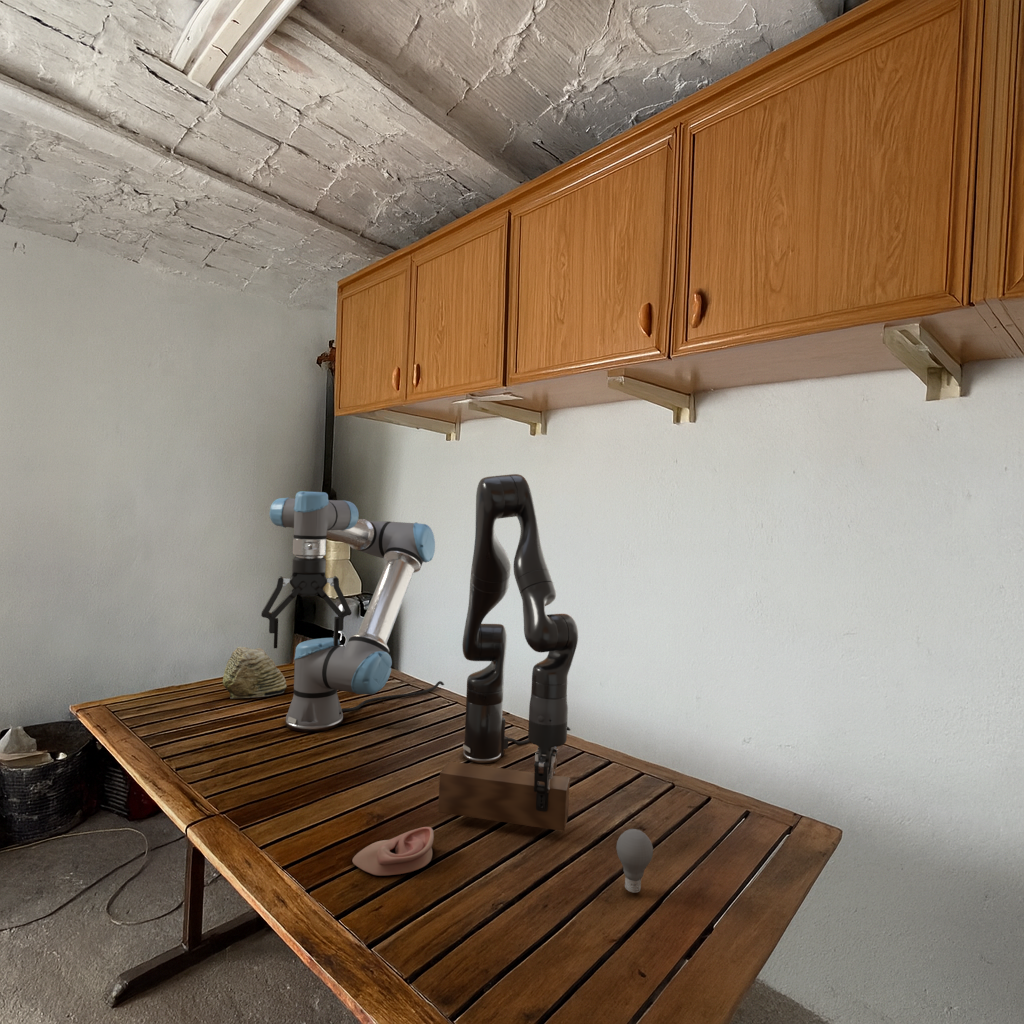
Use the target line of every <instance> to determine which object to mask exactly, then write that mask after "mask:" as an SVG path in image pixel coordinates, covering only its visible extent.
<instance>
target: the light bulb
mask: <svg viewBox="0 0 1024 1024" xmlns="http://www.w3.org/2000/svg"><path fill="white" fill-rule="evenodd" d="M615 849H616V854H617V857H618V859H619V861H620V863H621V865H622V867H623V873H624V874H623V875H624V876H625V878H624V888H625V890H627V891H628V892H630V893H634V894H635V893H639V892H640V891H641V889H642V887H641V886H642V879H643V877H644V875H645V871H646V868H647V867H648V866H649V864H650V863H651V861H652V859H653V855H654V847H653V843H652V841H651V838H649V836H648V835H647V834H646V833H645V832H643V831H642V830H641V829H636V828H629V829H627V830H625V831H623V832H622V833H621V834H620V835H619V837H618V839H617V841H616V847H615Z"/></svg>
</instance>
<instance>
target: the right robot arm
mask: <svg viewBox="0 0 1024 1024" xmlns="http://www.w3.org/2000/svg"><path fill="white" fill-rule="evenodd" d="M475 494H476V495H475V530H474V531H475V533H474V544H473V555H472V561H471V570H470V580H469V595H468V606H467V613H466V619H465V623H464V630H463V635H462V636H463V637H462V644H461V645H462V655H463V657H464V659H466V660H467V661H470V662H490V663H489V664H488V665H487V666H486V667H484V668H482V669H480V670H477V671H475V672H472V673H470V674H469V675H468V676H467V677H466V678H467V679H466V698H465V716H464V717H465V718H464V719H465V721H464V741H463V742H464V743H463V744H462V749H463V753H462V754H463V755H462V756H463V758H464V759H465V760H466V761H469V762H471V763H476V764H490V763H494V762H498V761H499V760H500V759H501V757H504V756H505V755H504V754H505V750H506V749H509V742H512V743H513V744H514V745H516V746H517V745H518V746H521V745H527V744H529V743H531V744H533V745H535V746H537V749H536V750H537V751H535V755H534V763H533V766H534V773H535V774H534V792H537V795H536V810H537V811H543V812H546V811H547V809H548V794H549V791H550V788H549V785H550V780H551V779H552V778H553V775H555V776H556V769H557V765H558V756H559V749H558V748H559V747H561V746H563V745H565V744H566V742H567V739H568V731H571V728H570V727H569V726H568V717H569V716H568V714H569V701H568V687H569V685H568V684H569V673H570V670H571V667H572V664H573V660H574V657H575V654H576V651H577V648H578V647H577V646H578V643H579V627H578V624H577V621H576V620H575V619H574V617H573V616H572V615H570V614H568V613H564V612H563V613H561V612H560V613H551V614H547V613H546V608H545V607H547V606H549V605H551V604H552V603H553V602H554V601H556V599H557V596H558V595H557V589H556V586H555V584H554V581H553V578H552V574H551V572H550V569H549V567H548V564H547V561H546V557H545V554H544V550H543V545H542V540H541V536H540V535H541V534H540V529H539V523H538V518H537V514H536V509H535V504H534V501H533V495H532V491H531V487H530V484H529V483H528V481H527V479H526V478H525V477H524V475H522V474H519V473H517V474H516V473H513V474H503V475H502V474H501V475H493V476H492V475H491V476H486V477H483V478H481V479H480V480H479V482H478V484H477V487H476V493H475ZM515 517H516V518H517V520H518V522H519V523H518V524H519V528H520V535H519V541H518V544H517V547H516V550H515V555H514V558H513V564H512V561H511V558H510V556H509V554H508V553H507V552H506V550H505V548H504V547H503V545H502V543H501V542H500V541H499V539H498V537H497V535H496V531H495V526H496V525H495V524H496V522H497V520H499V519H508V518H515ZM512 565H513V575H514V580H515V581H516V585H517V589H518V591H519V594H520V597H521V601H522V616H523V635H524V639H525V641H526V643H527V645H528V646H529V647H530V648H531V650H532V651H534V652H535V653H547V656H546V657H545V658H544V659H543V660H540V661H539V662H537V663H535V664H534V666H533V667H532V672H531V688H530V689H531V692H530V700H529V705H528V706H529V707H528V708H529V709H528V711H529V712H528V728H527V729H528V730H527V738H528V739H525V740H516V739H515V738H512V737H508V736H506V718H505V717H504V716H503V712H504V687H505V686H504V684H505V669H506V668H505V667H506V658H507V657H506V656H507V645H508V633H507V629H506V627H505V625H504V624H501V623H483V621H484V620H485V618H486V617H487V615H488V614H489V613H490V612H491V611H492V610H493V609H494V608H495V607H496V606H497V605H498V604H499V603H500V602H501V601H502V600H503V599H504V597H505V596H506V595H507V594H508V591H509V589H510V583H511V575H512ZM540 781H541V782H544V783H545V785H539V783H540Z"/></svg>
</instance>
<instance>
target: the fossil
mask: <svg viewBox="0 0 1024 1024" xmlns="http://www.w3.org/2000/svg"><path fill="white" fill-rule="evenodd" d="M222 676H223V677H222V685H223V687H224V688H225V690H226V691H228V693H229V698H230V699H250V698H264V697H271V696H275V695H281V694H284V693H285V691H286V689H287V687H288V686H287V680H286V678H285V676H284V674H283V673H282V672H281V669H279V668H278V667H277V665H276V663H275V662H274V660H273V659H272V658H271V657H270V656H269V655H268V654H267V653H266V652H265V650H264V649H263V648H260V647H258V648H251V647H247V646H246V647H245V646H238V647H237V648H236V649H235V650H233V651H232V653H231V656H230V657H229V659H228V660H227V663H226V666H225V668H224V671H223V675H222Z"/></svg>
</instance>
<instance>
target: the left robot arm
mask: <svg viewBox="0 0 1024 1024" xmlns="http://www.w3.org/2000/svg"><path fill="white" fill-rule="evenodd" d="M294 497H295V498H293V497H279V498H275V500H273V502H272V503H271V505H270V508H269V518H270V521H271V523H272V524H273V525H274V526H276V527H281V528H285V529H286V528H292V529H293V538H292V555H293V556H294V557H293V558H292V561H291V564H292V566H291V575H290V577H283V576H278V577H277V581H276V586H275V588H274V590H273V591H272V593H271V595H270V596H269V598H268V600H267V601H266V604H265V605H264V607H263V609H262V611H261V618H265V619H267V620H268V624H269V625H268V633H269V634H273V649H278V644H279V643H278V639H279V618H278V616H279V615H280V614H281V613H282V612H283V611H284V610H285V608H286V607H287V606H288V605H289V604H290V603H291V602H292V601H293V600H294V599H295V598H296V597H297V596H300V597H307V596H309V597H316V596H318V595H319V596H320V597H321V598H322V600H323V601H325V603H326V604H327V605H328V606H329V608H330V609H331V610H332V611H333V612H334V613H335V614H336V615H337V616H334V619H333V637H321V638H313V639H307V640H304V641H302V642H299V643H298V644H297V645H296V647H295V652H294V653H295V654H294V658H293V660H294V670H293V671H294V672H293V695H292V696H293V697H292V699H291V702H290V704H289V708H288V711H287V713H286V715H285V726H286V728H287V729H289V730H291V731H294V732H295V731H296V732H301V733H316V732H325V731H329V730H332V729H335V728H337V727H339V726H340V725H342V723H343V722H344V714H343V712H345V713H346V712H354V711H357V710H359V709H360V708H361V707H362V706H365V705H366V704H369V703H372V702H376V701H383V700H389V699H398V698H407V697H415V696H418V695H422V694H427V693H429V692H432V691H434V690H436V689H437V688H438V687H439V686H440V685H441V686H445V683H444V682H443V681H442V680H439V681H438V682H436V684H435V685H433V686H432V687H430V688H427V689H424V690H420V691H415V692H409V693H400V694H399V693H398V694H392V695H383V696H378V697H377V696H376V697H373V698H368V699H366V700H363V701H361V702H360V703H359V704H358V705H355V706H353V707H346V708H342V706H341V702H340V699H339V695H338V691H341V692H347V693H353V694H356V695H367V696H368V695H375V694H376V693H378V692H380V691H381V690H382V689H383V688H384V687H385V685H386V684H387V682H388V681H389V678H390V676H391V673H392V665H393V660H392V657H391V654H389V653H390V648H389V646H388V641H389V638H390V636H391V634H392V631H393V629H394V625H395V623H396V620H397V617H398V615H399V612H400V609H401V607H402V604H403V602H404V599H405V597H406V593H407V591H408V589H409V585H410V584H411V581H412V578H413V575H414V574H415V573H418V572H419V571H420V570H421V568H422V566H423V563H428V562H429V563H430V562H431V561H432V560H433V558H434V555H435V551H436V541H435V539H436V538H435V535H434V532H433V530H432V527H430V525H428V524H426V523H418V522H401V521H389V520H388V521H387V520H382V521H381V520H367V519H365V518H359V515H360V514H359V510H358V507H357V506H356V505H355V503H353V502H352V501H348V500H345V499H342V500H341V499H338V500H336V499H335V500H334V499H329V494H328V493H327V492H324V491H302V490H301V491H297V492H296V493H295V496H294ZM327 539H331V540H334V541H337V542H340V543H344V544H347V545H348V546H349V547H350V548H351V549H353V550H355V551H359V552H361V553H365V554H367V555H370V556H372V557H377V558H380V559H383V560H384V562H385V566H384V568H383V569H382V573H381V575H380V577H379V579H378V582H377V584H376V587H375V589H374V592H373V594H372V597H371V599H370V602H369V604H368V606H367V609H366V612H365V614H364V616H363V618H362V621H361V623H360V627H359V629H358V631H357V633H356V634H354V635H351V636H349V638H348V641H347V643H346V645H345V646H343V645H340V644H341V642H340V640H339V632H343V630H344V619H345V618H346V617H348V616H351V615H352V610H351V608H350V605H349V604H348V602H347V599H346V597H345V595H344V593H343V591H342V589H341V587H340V580H339V579H340V578H339V577H338V576H336V575H334V576H333V577H327V576H326V567H327V566H326V565H327V564H326V562H327V559H326V558H325V557H324V556H327ZM288 584H290V586H291V587H292V589H291V591H289V592H288V594H287V595H286V596H285V597H284V599H282V601H280V603H279V604H278V605H277V606H276V607H275V608H274V609H273V611H272V612H270V610H271V609H272V607H273V606H274V604H275V602H276V600H278V599H277V598H278V597H279V595H280V593H281V592H282V590H283V588H284V587H286V586H287V585H288ZM327 584H329V585H330V587H333V589H334V591H335V593H336V596H337V598H338V600H339V602H340V604H341V606H342V608H343V610H341V609H340V608H339V607H338V606H337V604H336V602H334V601H333V599H332V598H330V596H329V595H328V594H327V592H325V590H324V587H326V585H327Z"/></svg>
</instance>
